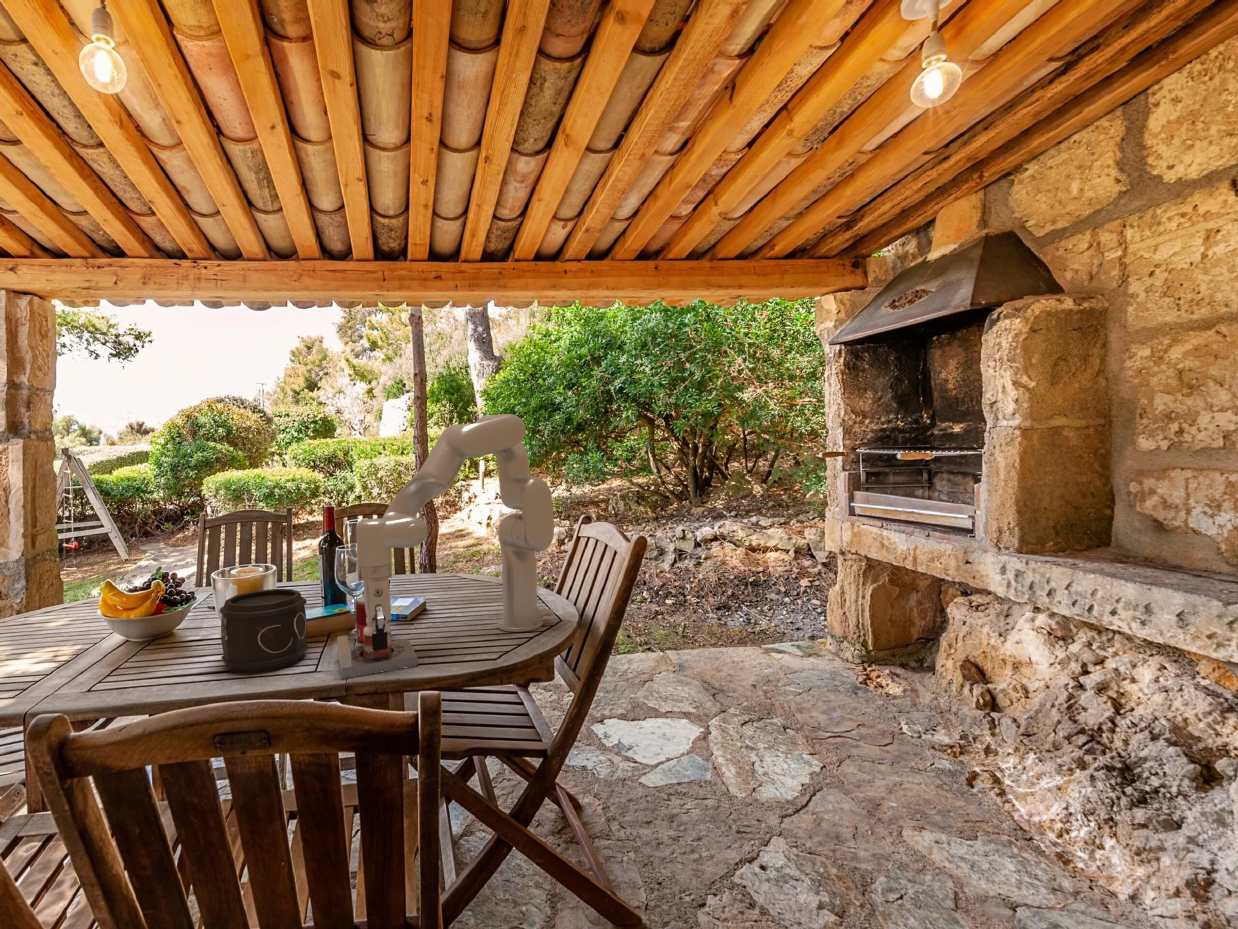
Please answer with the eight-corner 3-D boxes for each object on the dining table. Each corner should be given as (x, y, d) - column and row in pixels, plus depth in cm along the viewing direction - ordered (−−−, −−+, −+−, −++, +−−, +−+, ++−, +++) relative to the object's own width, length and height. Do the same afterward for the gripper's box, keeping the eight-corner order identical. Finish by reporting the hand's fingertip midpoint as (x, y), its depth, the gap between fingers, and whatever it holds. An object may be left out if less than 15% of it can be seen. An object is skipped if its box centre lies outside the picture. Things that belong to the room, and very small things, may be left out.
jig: (407, 648, 154) (407, 626, 154) (417, 666, 142) (416, 643, 142) (338, 659, 147) (337, 636, 147) (341, 679, 135) (341, 654, 134)
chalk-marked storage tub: (325, 650, 153) (324, 588, 152) (271, 678, 136) (269, 608, 135) (264, 646, 157) (262, 585, 156) (203, 672, 139) (200, 604, 138)
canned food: (377, 644, 157) (376, 602, 157) (350, 643, 159) (349, 601, 158) (394, 635, 165) (393, 595, 164) (367, 633, 166) (366, 593, 166)
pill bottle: (358, 663, 144) (357, 617, 144) (383, 656, 149) (382, 611, 148) (371, 669, 140) (370, 622, 140) (396, 662, 145) (395, 615, 144)
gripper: (397, 577, 138) (399, 651, 139) (387, 563, 153) (389, 630, 154) (361, 581, 134) (364, 658, 135) (354, 566, 149) (357, 635, 150)
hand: (377, 643), depth 144 cm, fingers open, 9 cm apart
